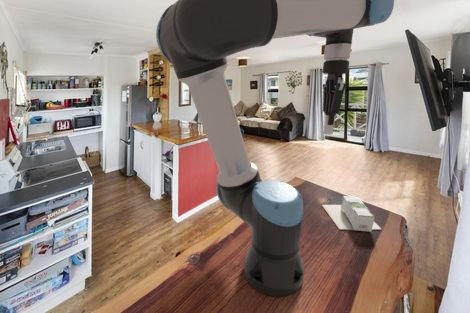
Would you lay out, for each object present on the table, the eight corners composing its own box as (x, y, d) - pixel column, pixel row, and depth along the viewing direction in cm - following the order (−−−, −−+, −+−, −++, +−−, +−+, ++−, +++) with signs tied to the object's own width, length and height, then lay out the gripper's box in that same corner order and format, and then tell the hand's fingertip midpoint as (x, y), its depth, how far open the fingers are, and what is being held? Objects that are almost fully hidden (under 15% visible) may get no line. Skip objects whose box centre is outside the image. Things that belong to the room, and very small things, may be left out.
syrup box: (371, 232, 76) (355, 210, 90) (375, 216, 74) (358, 196, 88) (353, 230, 77) (340, 208, 91) (356, 214, 75) (342, 195, 89)
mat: (339, 229, 78) (339, 228, 78) (322, 205, 94) (322, 204, 94) (381, 229, 78) (381, 228, 78) (356, 205, 94) (356, 204, 94)
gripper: (358, 58, 67) (347, 138, 74) (339, 62, 80) (331, 130, 86) (332, 58, 67) (323, 138, 74) (317, 62, 80) (311, 130, 87)
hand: (327, 133), depth 80 cm, fingers closed
